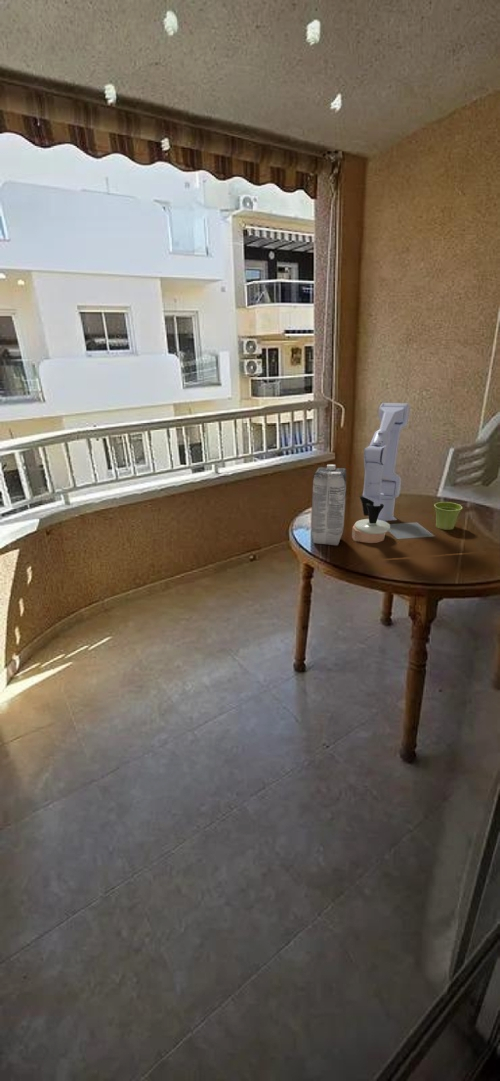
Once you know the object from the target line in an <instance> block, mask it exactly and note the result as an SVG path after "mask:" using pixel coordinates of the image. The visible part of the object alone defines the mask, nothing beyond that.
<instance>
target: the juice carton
mask: <svg viewBox="0 0 500 1081" xmlns="http://www.w3.org/2000/svg"><path fill="white" fill-rule="evenodd" d="M346 491H347V469H346V468H337V467H336V464H327V465H326V467H322V466H319V467H318V468H317V470H316V471H315V472H314V474H313V482H312V502H311V503H312V504H311V505H312V506H311V507H312V510H311V511H312V512H311V534H312V535H311V536H312V537H311V538H312V541H313V543H314V544H319V545H330V546H339V543H340V540H341V538H342V535H343V532H344V526H345V515H346V514H345V513H346V512H345V511H346V498H347V495H346V494H347V492H346Z"/></svg>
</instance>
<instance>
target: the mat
mask: <svg viewBox="0 0 500 1081" xmlns="http://www.w3.org/2000/svg"><path fill="white" fill-rule="evenodd" d="M389 524H390V530H389V531H388V532H389V533H390V535H392V536H393V537H394V538H395V539H396V540H404V539H405V540H406V539H417V538H419V539H420V538H429V537H430V538H431V537H434V538H435V534H433V533H431V532H430V530H428V529H426V528H425V527H424V526H422V525H421V524H420V523H419V522H404V523H401V522H400V523H389Z"/></svg>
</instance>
